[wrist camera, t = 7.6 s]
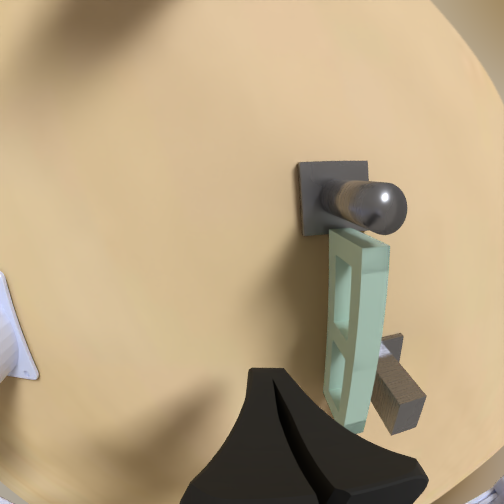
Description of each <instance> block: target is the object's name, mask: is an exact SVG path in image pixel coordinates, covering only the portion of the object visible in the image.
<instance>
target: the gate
mask: <svg viewBox="0 0 504 504" xmlns="http://www.w3.org/2000/svg"><path fill="white" fill-rule="evenodd" d="M389 257H390V246H389V245H387V244H385V243H383V242H381V241H379V240H377V239H374V238H372V237H370V236H368V235H366V234H364V233H362V232H359V231H357V230H355V229H353V228H341V229H329V294H328V323H327V343H326V360H325V374H324V386H323V393H324V396H325V398H326V400H327V403H328V405H329V408H330V410H331V412H332V415H333V417H334V419H335V421H336V422H338V423H339V424H341V425H342V426H343V427H345V428H346V429H348V430H349V431H351V432H353V433H354V434H357V433H361V432H363V430H364V426H365V422H366V418H367V414H368V409H369V405H370V400H371V396H372V391H373V386H374V381H375V375H376V370H377V364H378V358H379V352H380V345H381V338H382V331H383V323H384V315H385V306H386V296H387V285H388V273H389Z"/></svg>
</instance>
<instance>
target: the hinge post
mask: <svg viewBox="0 0 504 504" xmlns="http://www.w3.org/2000/svg"><path fill="white" fill-rule="evenodd" d="M298 174H299V188H300V204H301V221H302V235H303V236H311V235H322V234H329V229H341V228H353V229H355V230H357V231H367V230H370V231H373V232H375V233H377V234H381V235H388V234H392V233H394V232H395V231H397V230H398V229H399V228H400V227H401V226H402V224H403V223H404V221H405V218H406V215H407V202H406V198H405V196H404V194H403V192H402V191H401V190H400V189H399V188H398V187H397V186H395V185H394V184H391V183H384V182H371V181H369V179H368V162H367V161H322V162H299V163H298Z"/></svg>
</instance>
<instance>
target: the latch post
mask: <svg viewBox="0 0 504 504" xmlns="http://www.w3.org/2000/svg"><path fill="white" fill-rule="evenodd" d="M402 343H403V335H402V334H401V333H399V334H395V335H390V336H386V337H382V338H381V345H380V352H379V358H378V364H377V370H376V375H375V381H374V386H373V391H372V396H371V402H372V404H373V406H374V407H375V409H376V411H377V412H378V414H379V416H380V417H381V419H382V421H383V422H384V424H385V426H386V428H387V429H388V431H389V433H390V434H391V435H394V434H397V433H400V432H403V431H406V430H409V429H412V428H414V427H416V426H417V423H418V420H419V417H420V414H421V411H422V408H423V405H424V402H425V399H426V395H425V393H424V392H423V391H422V390H421V389H420V387H419V386H418V385H417V384H416V382H415V381H414V380H413V379H412V378H411V376H410V375H409V374H408V373H407V372H406V370H405V369H404V368H403V367H402V366H401V365H400V363H399V360H400V354H401V349H402Z"/></svg>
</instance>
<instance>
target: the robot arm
mask: <svg viewBox="0 0 504 504" xmlns="http://www.w3.org/2000/svg"><path fill="white" fill-rule="evenodd" d="M6 376H12V377H18V378H25V379H32V380H36V379H37V378H38V377H39V373H38V370H37V368H36V366H35V364H34V361H33V359H32V356H31V354H30V352H29V349H28V347H27V344H26V341H25V339H24V336H23V333H22V331H21V328H20V325H19V322H18V319H17V316H16V313H15V310H14V307H13V303H12V300H11V297H10V293H9V290H8V286H7V282H6V278H5V276H4V274H3V273H2V272H0V383H1V382H2V381H3V380H4V378H5V377H6ZM428 481H429V479H428V477H427V475H426V474H425V472H424V470H423V469H422V467H421V465H420V464H419V462H418V461H417V460H416V459H415V458H412V457H408V456H405V455H402V454H399V453H395V452H392V451H390V450H387V449H385V448H382V447H380V446H377V445H375V444H373V443H371V442H369V441H367V440H365V439H363V438H361V437H360V436H358V435H356V434H354V433H353V432H351V431H349V430H348V429H346V428H345V427H343V426H342V425H341V424H339V423H338V422H336V421H335V420H334V419H332V418H331V417H330V416H329V415H327V414H326V413H325V412H324V411H323V410H322V409H321V408H319V407H318V406H317V405H316V404H315V403H314V402H313V401H312V400H311V399H310V398H309V397H308V396H307V395H306V394H305V393H304V391H303V390H302V389H301V388H300V387H299V386H298V385H297V383H296V382H295V381H294V380H293V379H292V378H291V376H290V375H289V374H288V373H287V372H286V370H285V369H284V368H251V369H249V372H248V381H247V390H246V398H245V401H244V404H243V406H242V409H241V411H240V414H239V416H238V419H237V421H236V423H235V425H234V427H233V429H232V430H231V432H230V434H229V436H228V437H227V439H226V440H225V442H224V444H223V445H222V447H221V448H220V449H219V451H218V452H217V453H216V455H215V456H214V457H213V458H212V460H211V461H210V462H209V463H208V465H207V466H206V467H205V468H204V469H203V470H202V471H201V472H200V473H199V474H198V475H197V476H196V477H195V478H194V479H193V480H192V481H191V482H190V484H189V486H188V488H187V490H186V491H185V493H184V495H183V497H182V499H181V501H180V504H413V503H414V502H415V500H416V499H417V498H418V497H419V496H420V495H421V494H422V492H423V491H424V490H425V488H426V487H427V484H428ZM0 504H14V503H12V502H10V501H8V500H6V499H5V498H3V497H1V496H0ZM465 504H504V475H503V476H502V477H501V478H500V479H499V480H498V481H497V482H496V483H495V485H494V486H493V487H492V488H491V489H489V490H488V491H486V492H484V493H483V494H481V495H479V496H478V497H476V498H474V499H472V500H471V501H469V502H467V503H465Z"/></svg>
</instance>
